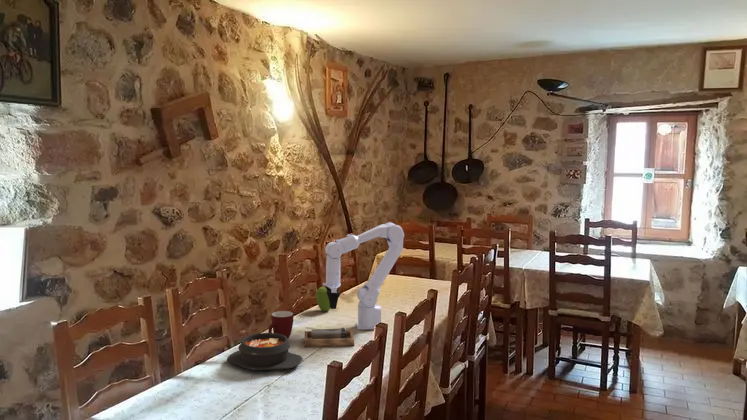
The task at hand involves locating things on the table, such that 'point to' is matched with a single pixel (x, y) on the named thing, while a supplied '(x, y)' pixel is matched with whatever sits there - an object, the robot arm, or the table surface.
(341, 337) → the slotted metal channel
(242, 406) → the table surface
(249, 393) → the table surface
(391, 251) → the robot arm
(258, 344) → the casserole
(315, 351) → the table surface
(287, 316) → the mug
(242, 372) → the table surface
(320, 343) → the wooden tray
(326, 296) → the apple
